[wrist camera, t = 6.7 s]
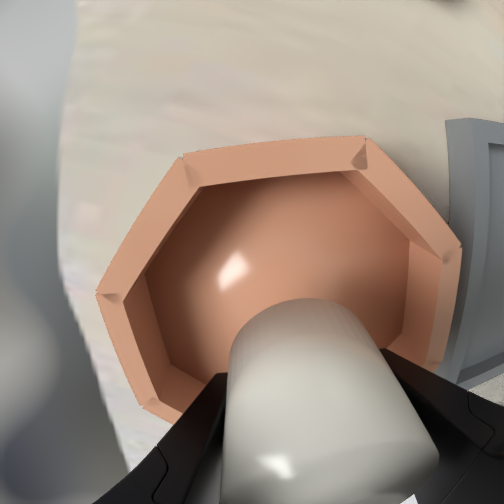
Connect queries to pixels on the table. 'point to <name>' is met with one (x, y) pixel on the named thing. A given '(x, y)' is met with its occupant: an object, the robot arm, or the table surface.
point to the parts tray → (476, 251)
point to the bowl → (274, 259)
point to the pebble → (317, 414)
